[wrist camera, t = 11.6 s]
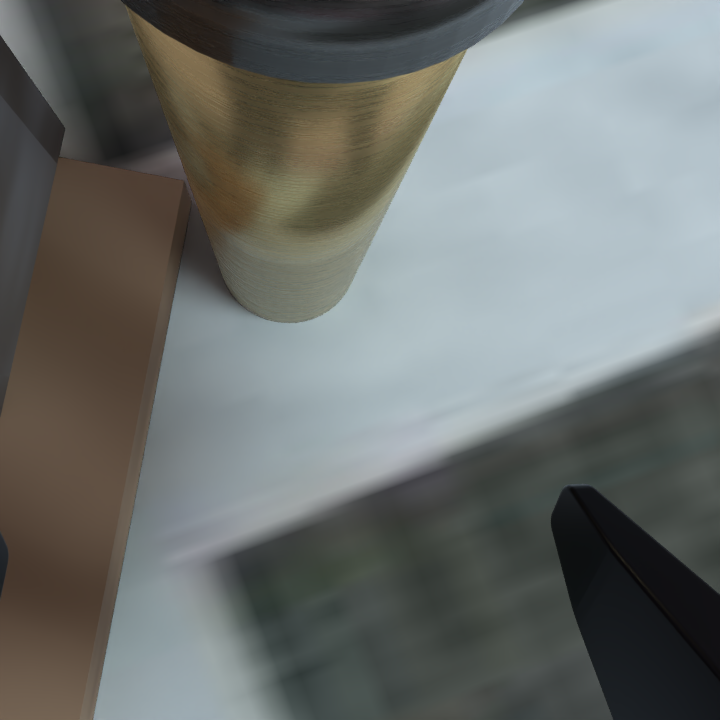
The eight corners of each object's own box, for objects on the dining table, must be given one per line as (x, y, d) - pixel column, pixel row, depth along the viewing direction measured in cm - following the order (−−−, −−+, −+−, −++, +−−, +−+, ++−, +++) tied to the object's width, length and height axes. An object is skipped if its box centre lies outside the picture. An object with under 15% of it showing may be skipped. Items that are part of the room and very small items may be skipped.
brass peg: (354, 344, 18) (620, 46, 4) (195, 318, 17) (-139, -132, 3) (376, 196, 18) (671, -509, 5) (223, 166, 18) (36, -732, 4)
